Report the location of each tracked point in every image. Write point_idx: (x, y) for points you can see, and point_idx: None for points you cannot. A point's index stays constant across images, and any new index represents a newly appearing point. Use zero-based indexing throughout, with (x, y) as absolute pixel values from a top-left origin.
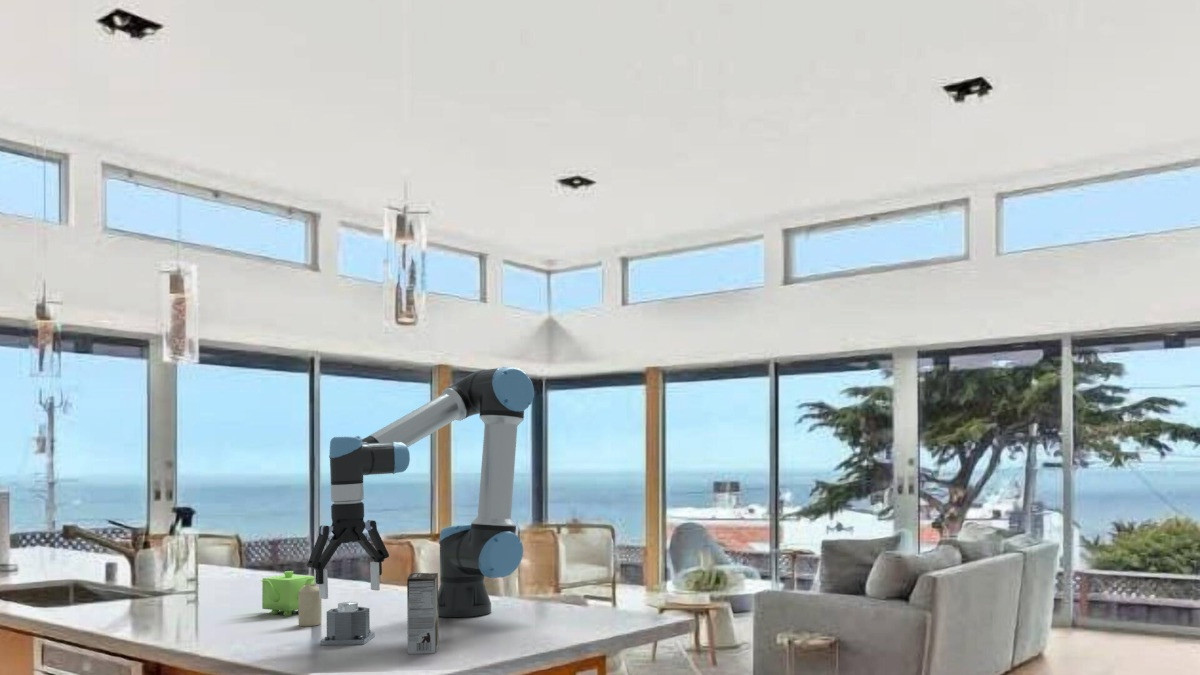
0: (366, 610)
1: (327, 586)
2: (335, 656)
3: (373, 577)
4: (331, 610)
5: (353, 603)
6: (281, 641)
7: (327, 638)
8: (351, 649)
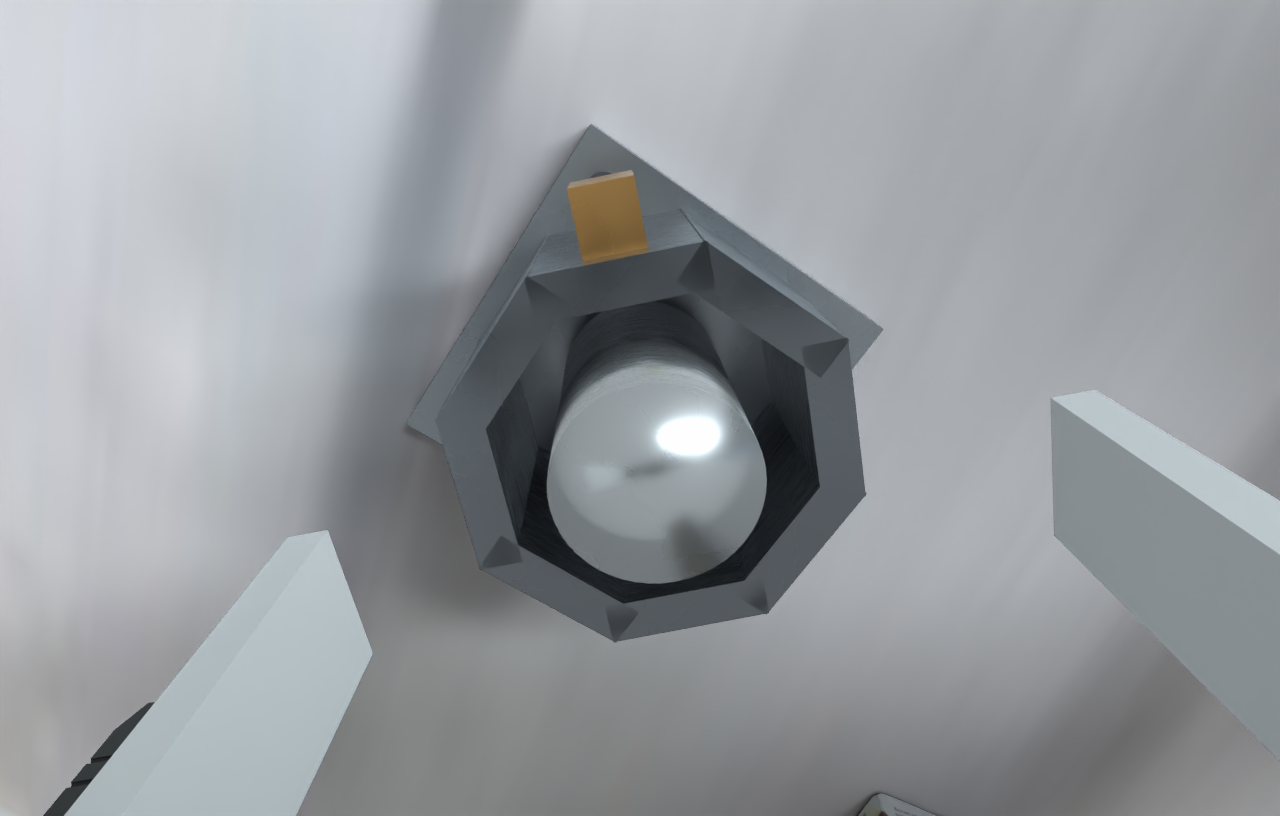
0: (790, 582)
1: (316, 762)
2: (407, 797)
3: (1153, 550)
4: (498, 384)
5: (700, 540)
6: (152, 9)
7: None
8: (553, 668)
